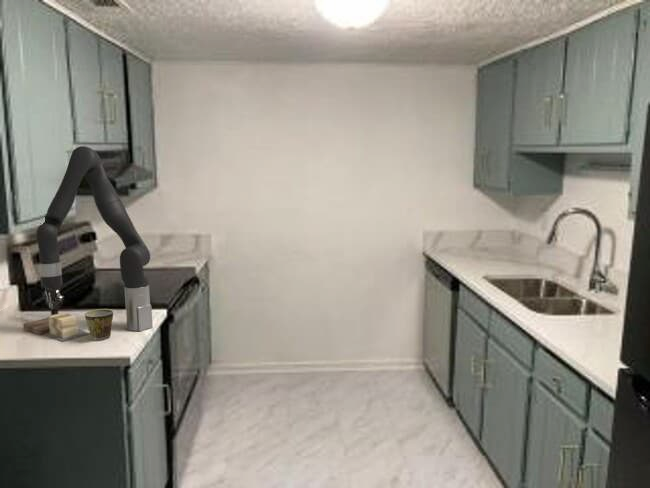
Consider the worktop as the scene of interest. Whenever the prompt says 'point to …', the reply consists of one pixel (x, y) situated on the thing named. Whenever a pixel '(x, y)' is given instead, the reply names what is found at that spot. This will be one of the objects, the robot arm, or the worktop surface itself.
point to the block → (63, 325)
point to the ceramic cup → (99, 323)
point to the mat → (80, 333)
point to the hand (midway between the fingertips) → (54, 317)
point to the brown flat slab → (38, 326)
